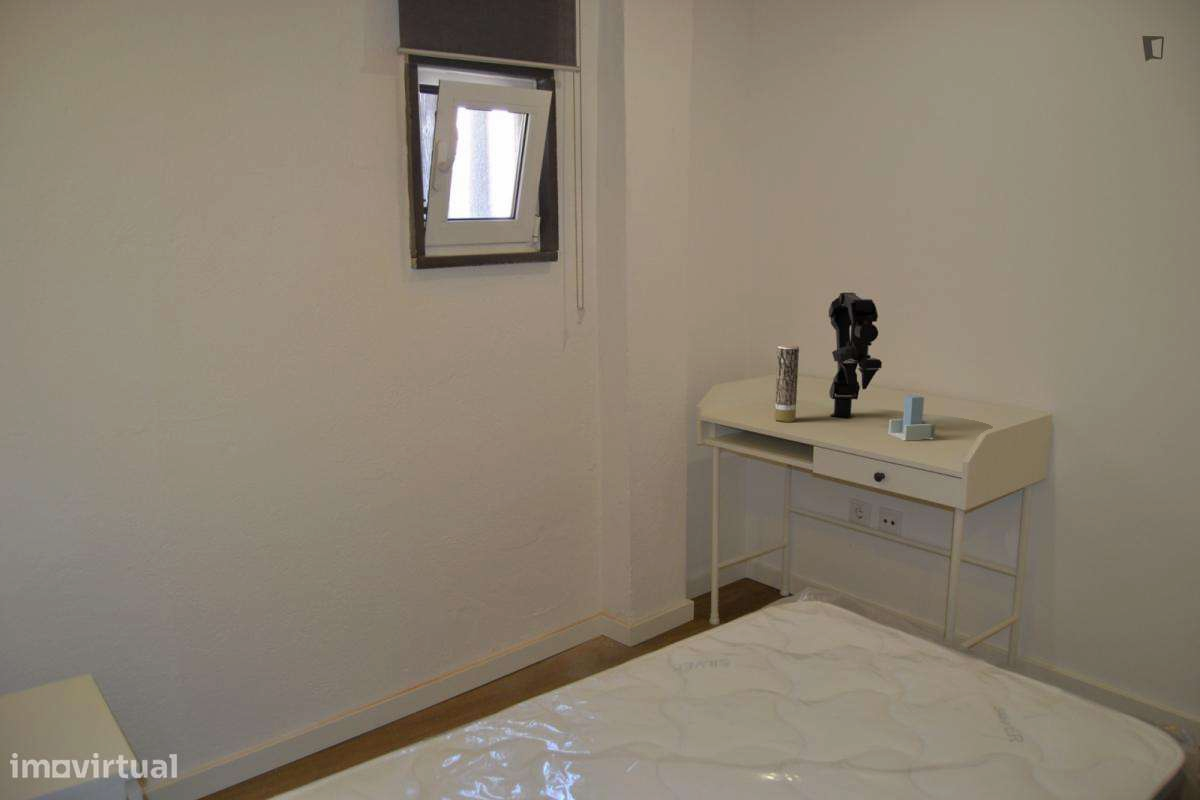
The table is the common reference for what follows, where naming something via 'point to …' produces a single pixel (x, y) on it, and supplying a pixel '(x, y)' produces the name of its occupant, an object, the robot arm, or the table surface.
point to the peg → (912, 410)
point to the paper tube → (786, 383)
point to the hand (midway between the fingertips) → (856, 386)
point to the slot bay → (911, 430)
